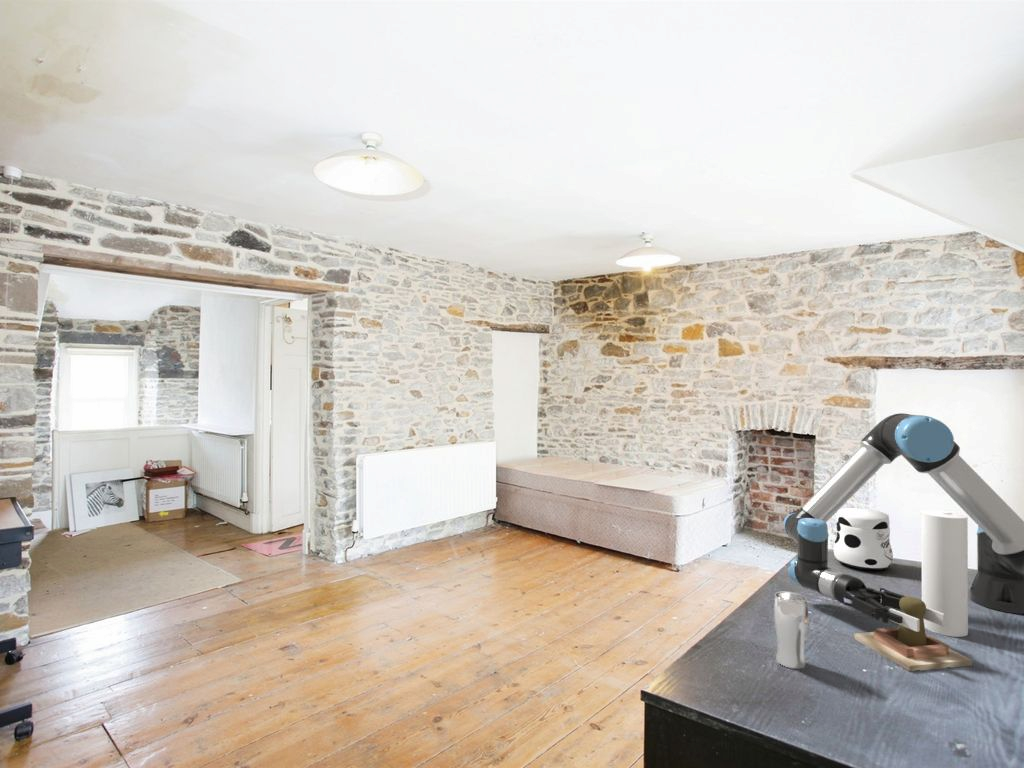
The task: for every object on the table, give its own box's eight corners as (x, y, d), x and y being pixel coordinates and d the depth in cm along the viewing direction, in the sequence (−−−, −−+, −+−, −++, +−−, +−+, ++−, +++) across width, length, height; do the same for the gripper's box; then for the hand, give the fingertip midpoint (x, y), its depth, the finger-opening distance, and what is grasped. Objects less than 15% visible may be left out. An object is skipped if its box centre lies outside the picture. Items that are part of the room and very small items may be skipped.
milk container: (904, 574, 186) (905, 519, 185) (851, 574, 186) (851, 519, 186) (872, 557, 203) (872, 507, 203) (823, 557, 203) (823, 507, 203)
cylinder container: (976, 638, 140) (976, 516, 140) (934, 635, 141) (933, 515, 141) (953, 621, 149) (953, 508, 149) (914, 619, 151) (913, 507, 151)
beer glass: (794, 673, 124) (794, 604, 123) (766, 659, 130) (766, 594, 130) (814, 665, 127) (814, 598, 127) (786, 652, 133) (787, 588, 133)
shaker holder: (910, 633, 142) (910, 620, 142) (971, 665, 127) (971, 651, 127) (854, 638, 140) (854, 625, 140) (909, 671, 124) (909, 657, 124)
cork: (924, 642, 135) (925, 596, 135) (930, 653, 130) (931, 605, 130) (894, 636, 138) (895, 592, 138) (898, 647, 132) (899, 600, 132)
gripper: (871, 597, 154) (962, 632, 132) (813, 607, 147) (898, 646, 125) (871, 569, 154) (962, 600, 132) (813, 578, 147) (898, 612, 125)
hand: (931, 622), depth 129 cm, fingers open, 8 cm apart
